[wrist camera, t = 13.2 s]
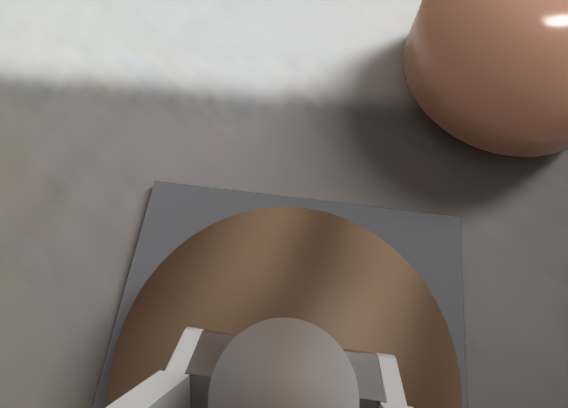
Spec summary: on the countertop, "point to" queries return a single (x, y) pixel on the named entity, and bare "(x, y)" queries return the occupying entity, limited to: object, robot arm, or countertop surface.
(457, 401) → the walnut lid
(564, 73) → the peach dome knob
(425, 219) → the rubber mat
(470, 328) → the countertop surface
